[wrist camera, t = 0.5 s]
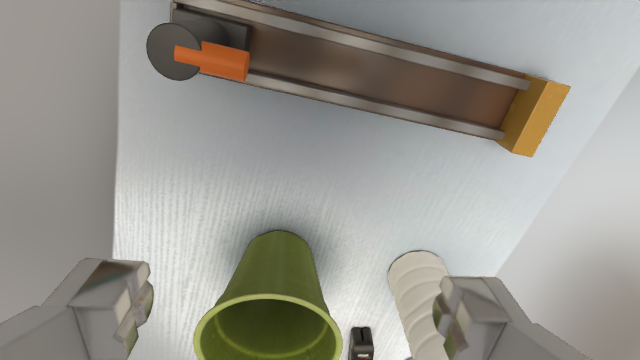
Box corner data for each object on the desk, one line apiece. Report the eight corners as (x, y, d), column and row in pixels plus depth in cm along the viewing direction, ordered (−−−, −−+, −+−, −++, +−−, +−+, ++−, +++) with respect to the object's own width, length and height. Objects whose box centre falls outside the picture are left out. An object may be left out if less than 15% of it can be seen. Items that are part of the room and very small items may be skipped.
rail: (179, 66, 28) (168, 71, 25) (183, -16, 25) (171, -19, 23) (516, 143, 32) (532, 153, 30) (549, 79, 30) (570, 86, 27)
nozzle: (181, 50, 26) (122, 71, 18) (183, 8, 25) (121, 8, 16) (260, 69, 27) (241, 97, 18) (266, 29, 26) (248, 39, 17)
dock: (493, 140, 31) (510, 153, 28) (525, 74, 28) (548, 81, 26) (512, 144, 31) (532, 157, 28) (546, 79, 29) (571, 86, 26)
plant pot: (218, 209, 34) (182, 294, 24) (335, 211, 35) (348, 294, 25) (227, 296, 39) (201, 395, 29) (328, 296, 40) (337, 393, 30)
